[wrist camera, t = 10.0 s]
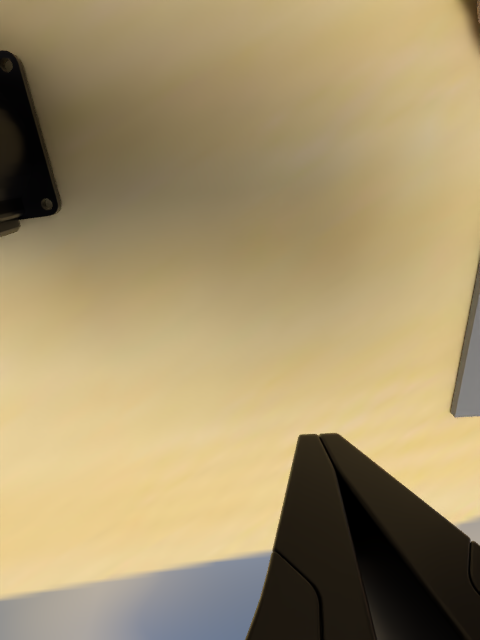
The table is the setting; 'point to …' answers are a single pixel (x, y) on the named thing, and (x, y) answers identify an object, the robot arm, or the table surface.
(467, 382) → the mat
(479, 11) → the flat grey rock
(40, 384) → the table surface
